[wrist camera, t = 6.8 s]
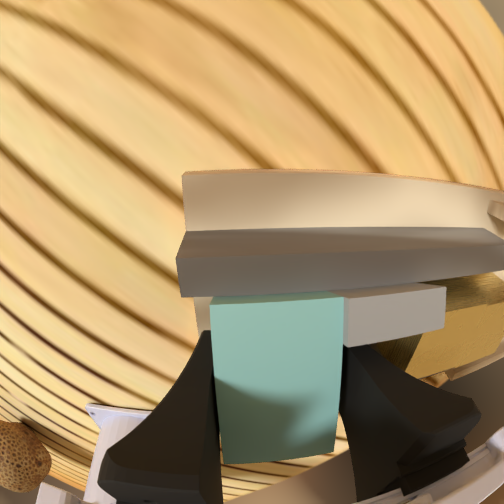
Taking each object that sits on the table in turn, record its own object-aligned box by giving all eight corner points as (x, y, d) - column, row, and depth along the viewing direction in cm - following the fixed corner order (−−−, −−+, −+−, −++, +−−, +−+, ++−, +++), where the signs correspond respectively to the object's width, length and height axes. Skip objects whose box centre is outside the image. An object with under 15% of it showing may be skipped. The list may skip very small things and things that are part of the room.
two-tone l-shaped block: (383, 278, 13) (377, 388, 13) (217, 288, 12) (225, 408, 12) (446, 286, 8) (425, 430, 8) (208, 307, 8) (223, 470, 8)
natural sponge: (-17, 393, 18) (-44, 451, 9) (23, 404, 18) (-7, 477, 9) (24, 437, 22) (6, 490, 13) (68, 449, 22) (51, 513, 13)
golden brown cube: (422, 323, 15) (456, 366, 11) (368, 331, 14) (398, 383, 11) (443, 264, 13) (487, 303, 9) (387, 267, 13) (430, 314, 9)
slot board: (501, 329, 18) (520, 350, 15) (210, 386, 17) (209, 431, 13) (544, 200, 13) (572, 215, 10) (185, 171, 11) (168, 189, 8)
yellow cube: (462, 317, 15) (494, 352, 11) (422, 324, 15) (454, 368, 11) (482, 264, 13) (522, 296, 10) (442, 267, 13) (486, 306, 9)
